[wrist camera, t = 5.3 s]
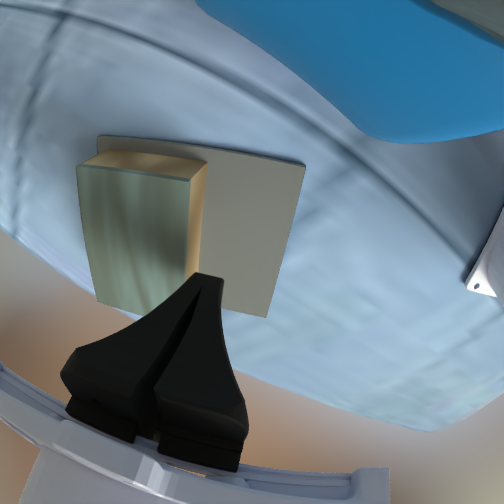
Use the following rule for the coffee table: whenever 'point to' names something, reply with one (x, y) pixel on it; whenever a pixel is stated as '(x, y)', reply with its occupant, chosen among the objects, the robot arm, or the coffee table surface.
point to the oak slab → (140, 225)
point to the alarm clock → (388, 59)
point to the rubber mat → (236, 216)
